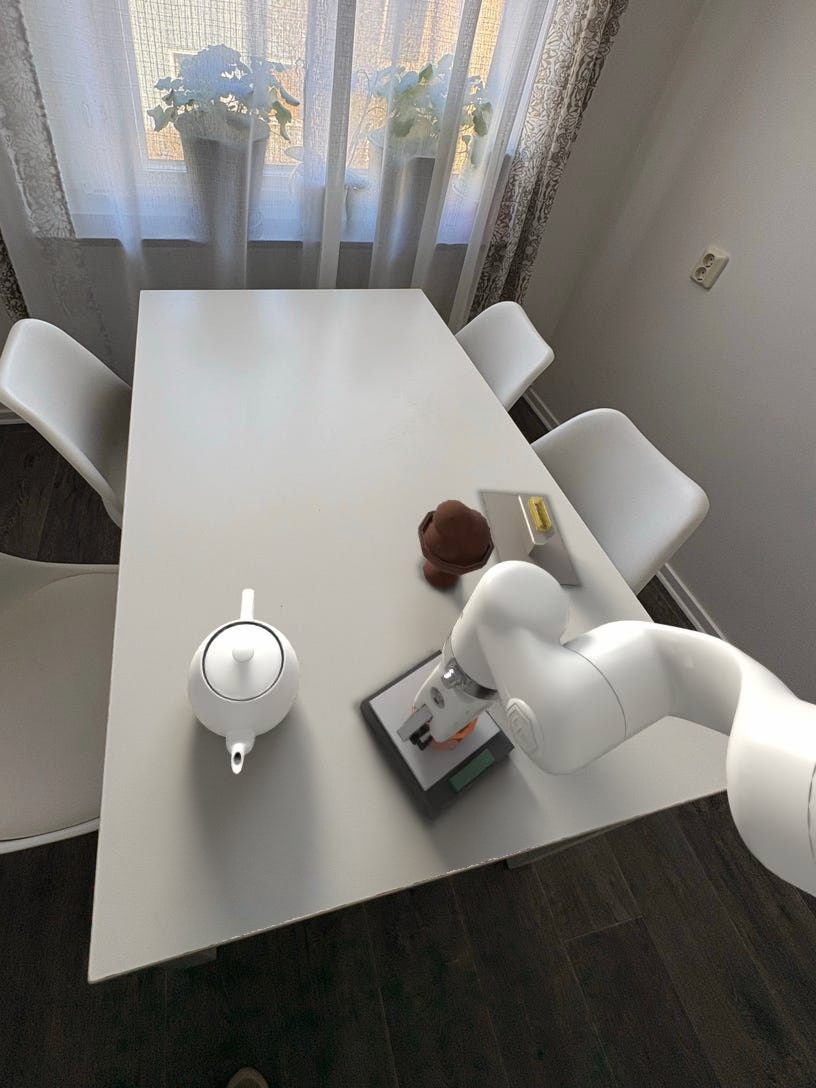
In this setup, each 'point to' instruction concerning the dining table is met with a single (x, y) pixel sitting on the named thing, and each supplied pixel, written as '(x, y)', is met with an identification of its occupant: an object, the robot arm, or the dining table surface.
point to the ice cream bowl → (453, 542)
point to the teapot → (243, 680)
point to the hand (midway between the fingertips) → (439, 718)
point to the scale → (431, 769)
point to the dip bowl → (453, 740)
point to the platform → (528, 534)
